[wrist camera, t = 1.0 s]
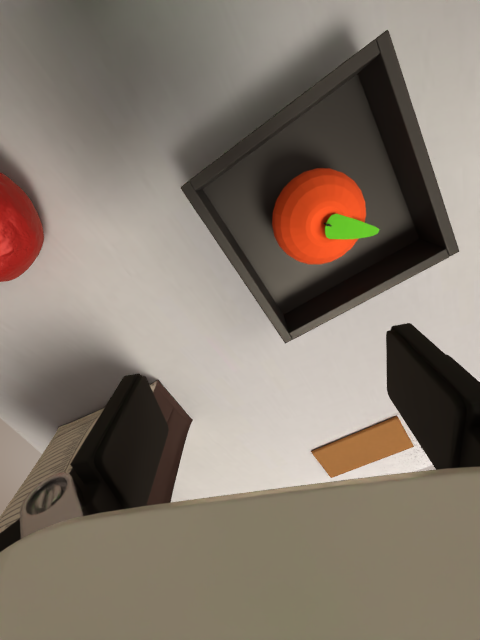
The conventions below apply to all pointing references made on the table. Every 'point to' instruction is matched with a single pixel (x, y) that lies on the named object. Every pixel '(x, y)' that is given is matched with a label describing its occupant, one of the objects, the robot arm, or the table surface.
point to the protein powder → (74, 436)
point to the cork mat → (363, 447)
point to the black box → (344, 156)
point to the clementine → (320, 216)
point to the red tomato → (17, 230)
